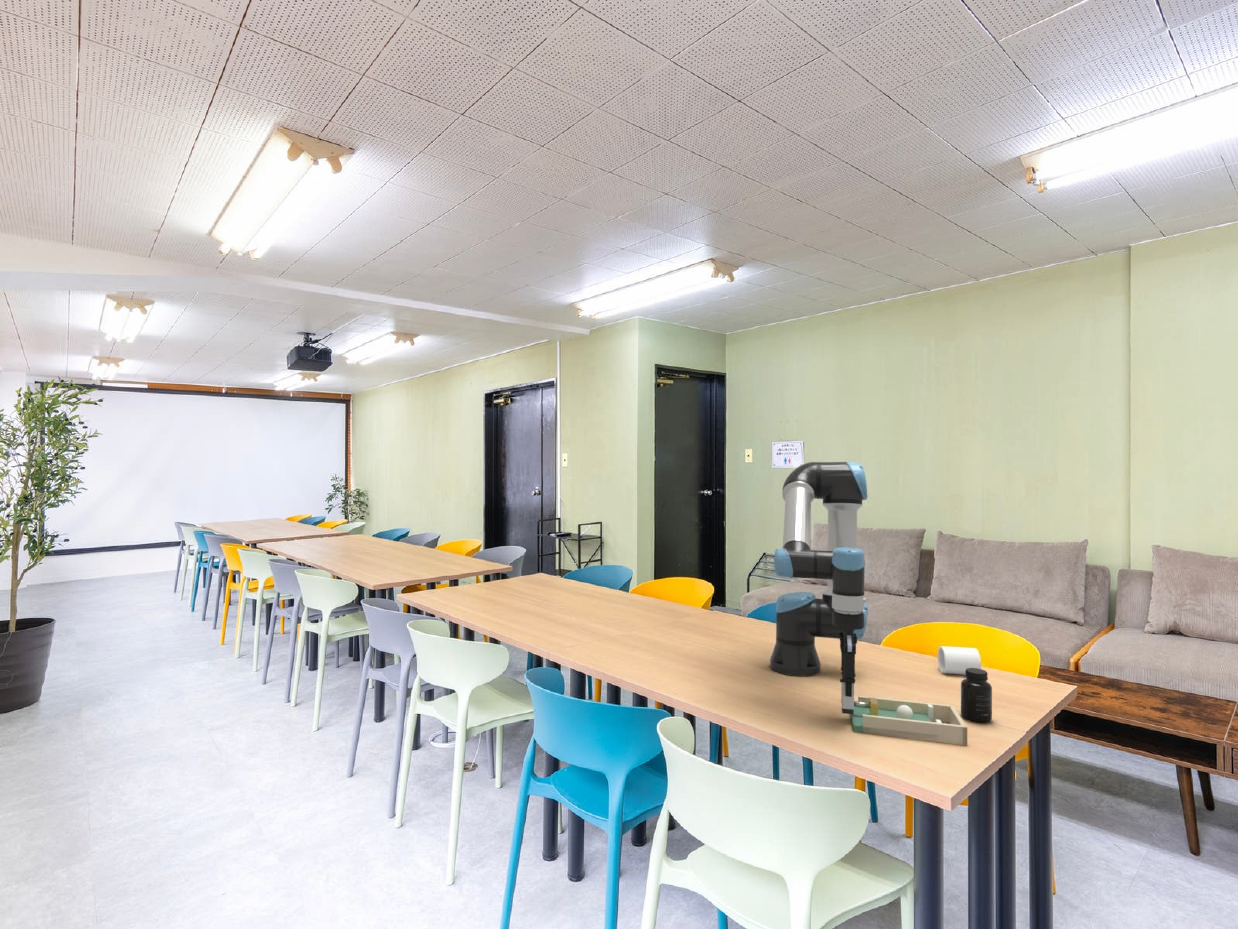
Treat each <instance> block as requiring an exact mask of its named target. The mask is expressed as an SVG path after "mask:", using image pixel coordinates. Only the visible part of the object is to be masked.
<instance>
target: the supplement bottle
mask: <svg viewBox="0 0 1238 929" xmlns="http://www.w3.org/2000/svg"><path fill="white" fill-rule="evenodd" d="M964 677H965V678H963V679H962V680H961V682H960V717H961V718H962V719H964V720H965V721H969V722H972V723H976V724H988V723H991V722H992V719H993V686H992V685H991V683H990V682H988V680H989V677H988V671H986V670H985V669H982V668H981V669H978V668H967V669H966V671H965V675H964Z"/></svg>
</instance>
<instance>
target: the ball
mask: <svg viewBox="0 0 1238 929" xmlns="http://www.w3.org/2000/svg"><path fill="white" fill-rule="evenodd" d="M897 715H898V717H899V718H900V719H909V720H911V719H912V717H913V712H912V709H911V708H910V707H909V706H906V705H901V706H899V707H898V708H897Z"/></svg>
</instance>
